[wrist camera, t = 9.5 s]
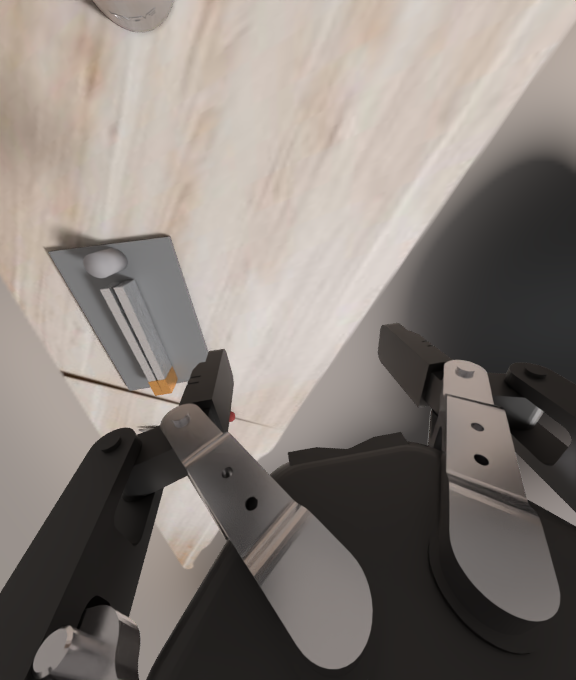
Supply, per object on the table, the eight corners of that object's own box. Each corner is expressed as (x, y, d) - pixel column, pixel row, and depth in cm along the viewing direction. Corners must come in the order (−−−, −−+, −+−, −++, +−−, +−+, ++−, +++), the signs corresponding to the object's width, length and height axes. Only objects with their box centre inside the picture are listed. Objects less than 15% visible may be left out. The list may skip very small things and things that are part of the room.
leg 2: (125, 280, 34) (112, 288, 31) (135, 279, 34) (123, 286, 31) (170, 380, 44) (163, 394, 40) (177, 379, 44) (171, 393, 41)
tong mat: (53, 250, 32) (18, 258, 28) (170, 236, 33) (156, 240, 29) (132, 387, 45) (117, 408, 40) (215, 373, 46) (210, 393, 41)
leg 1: (113, 282, 34) (98, 290, 31) (123, 280, 34) (109, 288, 31) (162, 381, 44) (155, 395, 40) (170, 380, 44) (163, 394, 40)
